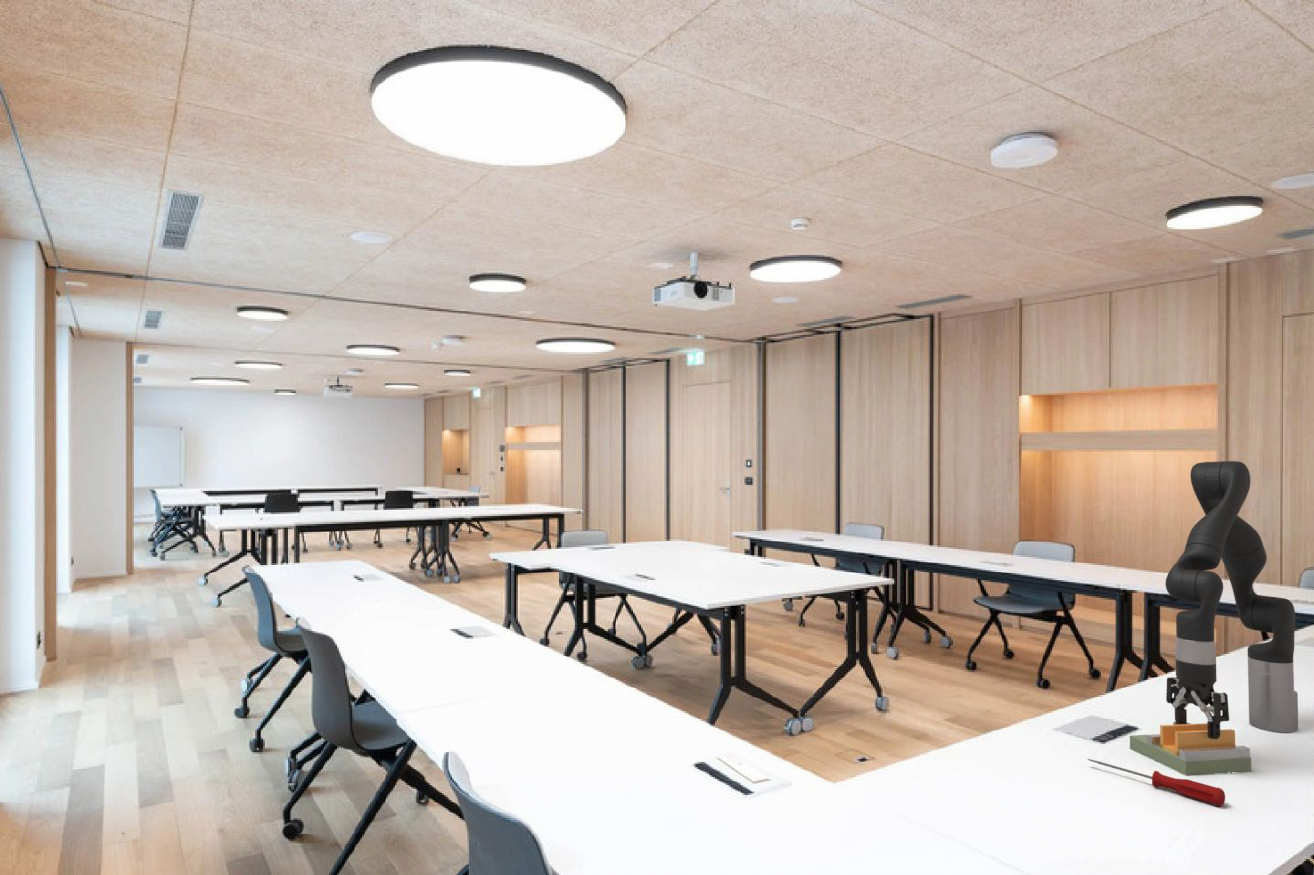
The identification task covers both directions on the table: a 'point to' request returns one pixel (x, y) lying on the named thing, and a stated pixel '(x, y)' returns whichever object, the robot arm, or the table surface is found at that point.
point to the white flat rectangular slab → (745, 770)
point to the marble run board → (1188, 767)
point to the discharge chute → (1192, 737)
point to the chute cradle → (1205, 751)
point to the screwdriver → (1182, 786)
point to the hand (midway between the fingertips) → (1196, 731)
